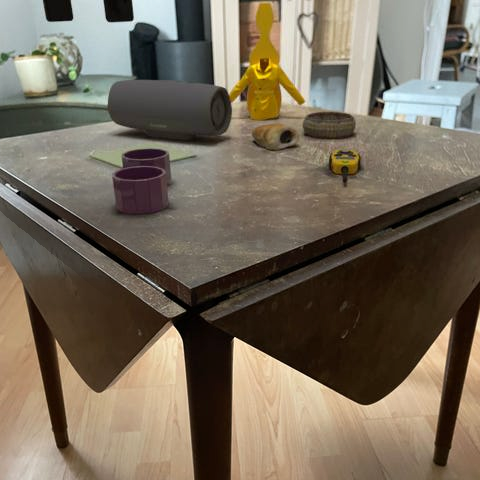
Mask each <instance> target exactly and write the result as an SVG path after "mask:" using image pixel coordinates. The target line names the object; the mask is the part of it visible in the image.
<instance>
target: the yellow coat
mask: <svg viewBox="0 0 480 480" xmlns="http://www.w3.org/2000/svg"><path fill="white" fill-rule="evenodd" d="M274 16H275V15H274V12H273V8H272V5H271V2H259V4H258V7H257V10H256V14H255V25H256V27H257V30H258V33H259V40H258V41H257V43H256V44H255V46H254V47H253V49H252V50H251V52H250V54H249V58H248V59H249V60H248V61H249V66H248V67H247V69H246V71H245V72H244V74H243V75H242V77H241V78H240V79H239V80H238V82H236V84H235V85H234V87H232V89H231V91H230V93H228V94H229V96H230V100H231V104H232V103H233V102H234V101H236V99H237V98H238V97H239V96H240V95H241V94H242V93H243V91H244V90H245V89H246V88H247V87H248V88H247V94H246V106H247V112H248V114H249V116H250V117H249V119H251V120H253V121H265V120H268V119H274V118H278V117H279V114H280V111H281V107H282V103H283V101H282V99H283V98H282V97H283V96H282V90H281V87H282V88H283V89H284V91H286V92H287V94H289V95H290V97H291V98H292V99H293V100H294V101H295V102H296V103H297V104H298V105H299V106H302V105H303V104H305V103H306V100H305V98H304V97H303V96H302V94H301V92H299V90H298V88H297V87H296V86H295V85H294V83H293V82H292V81H291V80H290V78H289V76H288V75H287V74H286V72H285V71H284V70H283V69H282V66H280V58H281V57H280V54H279V52H278V50H277V48H276V46H274V44H273V43H272V40H271V38H270V33H271V31H272V28H273V25H274V22H275V21H274V19H275V17H274Z"/></svg>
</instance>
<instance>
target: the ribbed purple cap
mask: <svg viewBox="0 0 480 480" xmlns="http://www.w3.org/2000/svg"><path fill="white" fill-rule="evenodd" d="M121 156H122V164H123V169H124V168H128V167H136V166H152V167H159V168H162V169H164V170H165V172H166V178H167V187H168V186H170V185H171V184H172V171H171V169H172V168H171V162H170V157H169V152H168V151H166V150H163V149H155V148H145V149H135V150H130V151H127V152H125V153H123V154H121Z"/></svg>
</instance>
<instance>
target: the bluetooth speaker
mask: <svg viewBox="0 0 480 480" xmlns="http://www.w3.org/2000/svg"><path fill="white" fill-rule="evenodd" d="M229 94H230V93H229V91H228V89H227V88H226V87H224V86H220V85H215V84H209V83H199V82H194V81H180V80H171V79H164V80H163V79H162V80H161V79H125V80H117V81H115V82H113V83H112V85H111V86H110V88H109V92H108V97H107V111H108V115H109V117H110V119H111V121H113V122H114V124H116V125H118V126H121V127H124V128H129V129H134V130H135V129H136V130H139V131H144V132H145V133H146V136H147V137H153V138H160V139H161V138H162V139H171V140H178V141H179V140H180V141H181V140H182V141H192V140H195V139H196V138H197V136H199V137H200V136H202V137H203V136H205V137H214V136H222V135H224V134H225V133H226V132H227V131H228V129H229V127H230V126H231V122H232V116H233V106H232V103H231V100H230V96H229Z"/></svg>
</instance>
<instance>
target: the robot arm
mask: <svg viewBox="0 0 480 480" xmlns="http://www.w3.org/2000/svg"><path fill="white" fill-rule="evenodd" d="M102 1H103V10H104V16H105V20H106V21H107V23H128V22H129V23H131V22H133V21H134V19H135V16H134V15H135V14H134V5H133V4H134V3H133V0H102ZM42 5H43V9H44V10H43V11H44V15H45V20H46V21H47V22H49V23H56V22H57V23H60V22H61V23H62V22H73V20H74V11H73V6H72V0H42Z"/></svg>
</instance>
